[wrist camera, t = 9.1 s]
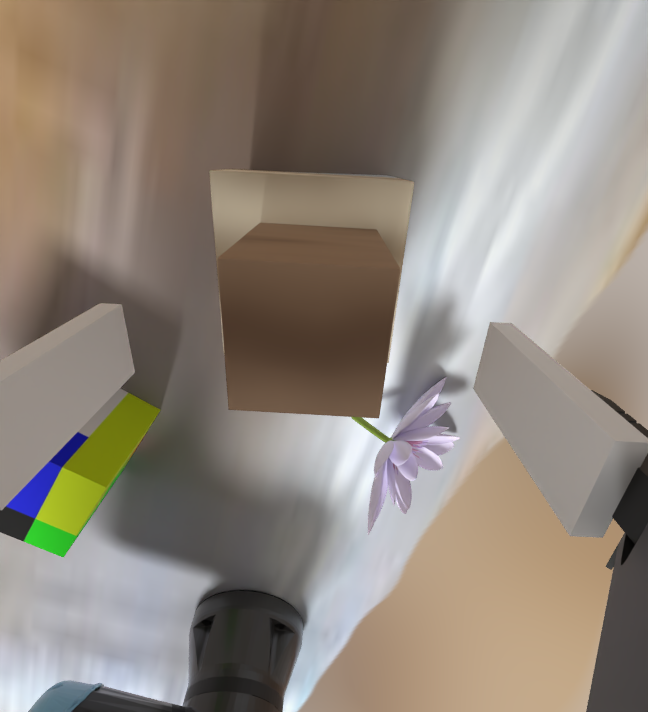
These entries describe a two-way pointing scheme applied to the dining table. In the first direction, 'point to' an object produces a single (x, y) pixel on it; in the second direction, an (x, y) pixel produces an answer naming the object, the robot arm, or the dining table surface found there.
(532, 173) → the dining table surface
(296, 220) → the tower slab upper
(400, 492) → the water lily
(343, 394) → the walnut block
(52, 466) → the puzzle toy
